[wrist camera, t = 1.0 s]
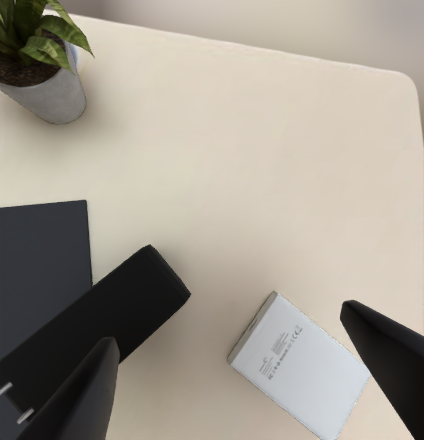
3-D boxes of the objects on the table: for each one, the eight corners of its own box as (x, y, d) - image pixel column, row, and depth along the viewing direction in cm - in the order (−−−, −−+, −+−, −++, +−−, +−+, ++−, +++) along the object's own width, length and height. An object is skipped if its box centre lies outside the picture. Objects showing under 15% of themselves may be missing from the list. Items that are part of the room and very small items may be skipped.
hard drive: (321, 435, 23) (226, 358, 23) (360, 363, 25) (273, 290, 24) (332, 449, 21) (230, 366, 21) (373, 370, 23) (279, 293, 23)
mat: (101, 420, 20) (100, 423, 20) (-74, 464, 18) (-80, 469, 18) (86, 200, 23) (84, 199, 22) (-70, 215, 20) (-74, 214, 20)
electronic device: (181, 280, 23) (193, 297, 13) (94, 356, 20) (32, 446, 11) (154, 248, 23) (147, 242, 13) (64, 320, 20) (-26, 379, 11)
